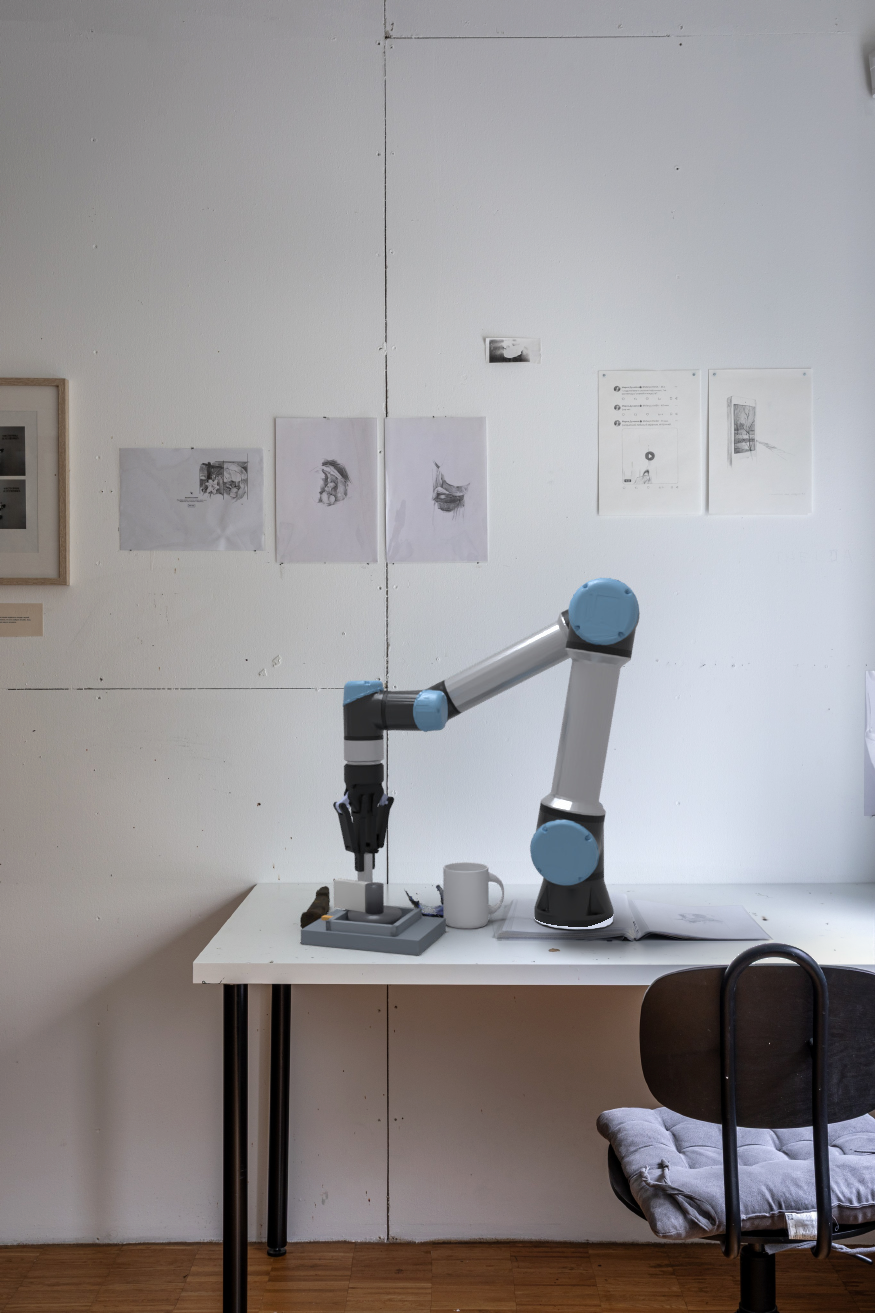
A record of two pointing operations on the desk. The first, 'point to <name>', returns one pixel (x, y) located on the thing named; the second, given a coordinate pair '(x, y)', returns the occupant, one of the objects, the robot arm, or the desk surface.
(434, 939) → the panel
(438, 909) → the snack package
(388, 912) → the dial
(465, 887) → the mug
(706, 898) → the desk surface
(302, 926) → the dark brown lumpy bar
